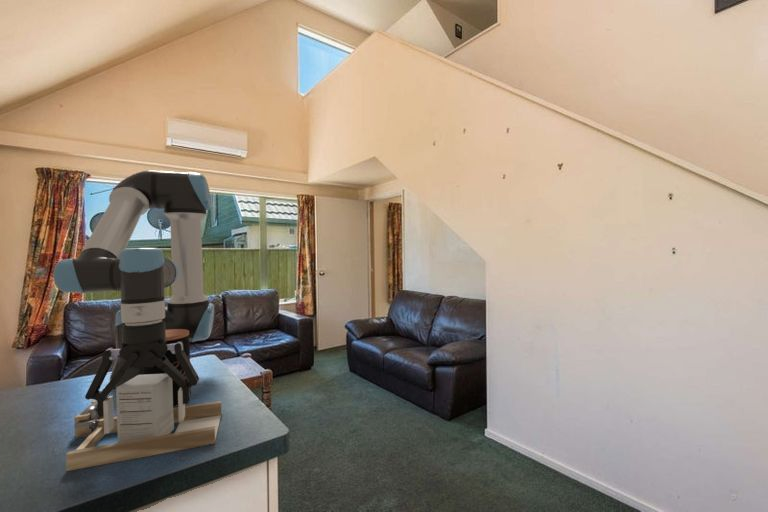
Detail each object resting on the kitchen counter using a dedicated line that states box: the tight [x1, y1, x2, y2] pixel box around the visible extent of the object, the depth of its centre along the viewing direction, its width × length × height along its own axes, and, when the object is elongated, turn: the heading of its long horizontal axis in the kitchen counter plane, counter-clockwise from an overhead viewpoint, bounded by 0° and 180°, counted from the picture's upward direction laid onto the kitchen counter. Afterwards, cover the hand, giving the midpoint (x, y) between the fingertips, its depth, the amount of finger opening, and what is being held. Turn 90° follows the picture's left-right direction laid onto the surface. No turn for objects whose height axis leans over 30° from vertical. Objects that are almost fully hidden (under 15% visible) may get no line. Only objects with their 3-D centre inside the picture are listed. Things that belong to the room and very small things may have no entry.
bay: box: [65, 400, 223, 472], centre depth 73 cm, size 14×24×3 cm, turn 110°
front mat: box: [174, 414, 222, 440], centre depth 76 cm, size 11×8×1 cm
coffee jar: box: [142, 329, 192, 407], centre depth 91 cm, size 11×11×18 cm
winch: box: [73, 399, 104, 439], centre depth 77 cm, size 12×5×5 cm, turn 20°
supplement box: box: [115, 374, 175, 443], centre depth 73 cm, size 7×7×13 cm
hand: (146, 424), depth 73 cm, fingers open, 12 cm apart
